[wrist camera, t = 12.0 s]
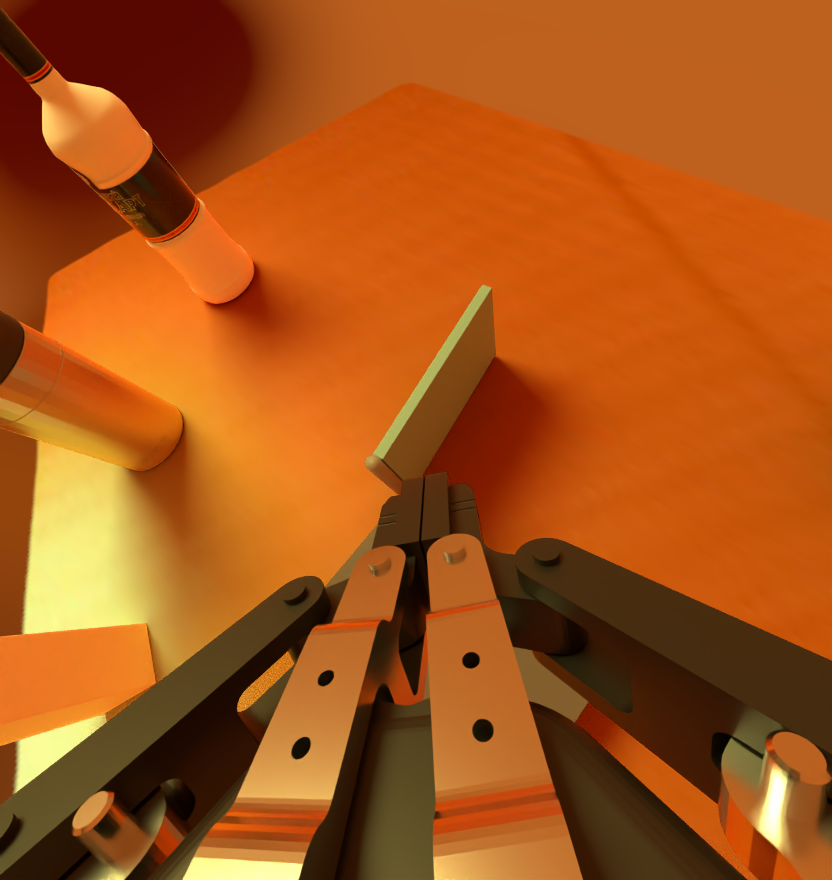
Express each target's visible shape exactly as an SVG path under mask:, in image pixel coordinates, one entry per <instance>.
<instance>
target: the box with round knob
mask: <svg viewBox="0 0 832 880" xmlns="http://www.w3.org/2000/svg"><path fill="white" fill-rule="evenodd" d="M377 526H378V524H377ZM377 526H376V527H375V528H374V529H373V530H372V532H371V533H370V534H369V535H368V536H367V537H366V539H365V540H364V541H363V542H362V543H361V545H360V546H359V547H358V548H357V549H356V551H355V552H354V553H353V554H352V555H351V557H350V558H349V559H348V560H347V561H346V563H345V564H344V565H343V566H342V567H341V569H340V570H339V571H338V572H337V573H336V575H335V576H334V577H333V578H332V579H331V581H330V582H329V583H328V584H327V585H326V587H325V588H327V587H329V586H332V585H334V584H337V583H339V582H342V581H344V580H346V579H348V578H350V576H351V573H352V571H353V568H354V566H355V564H356V562H357V561H358V559H359V558H360V557H361V556H363V555H364V554H365V553H367V552H368V551H370V550H371V549H372V545H373V542H374V538H375V534H376V530H377ZM428 613H430V612H428ZM513 650H514V653H515V657H516V660H517V663H518V667H519V670H520V674H521V677H522V680H523V684H524V687H525V691H526V694H527V697H528V701H531V702H534V703H538V704H541V705H543V706H546V707H548V708H550V709H553V710H555V711H557V712H558V713H560V714H562V715H564V716H565V717H567V718H569V719H570V720H572V721H573V722H574V723H575V721H576V720H577V718H578V717H579V715H580V714H581V712H582V711H583V709H584V708H585V707H586V705H587V704H588V701H587V700H586V699H584V698H583V697H582V696H581V695H579V694H578V693H577V692H576V691H574V690H573V689H572V688H571V687H569V686H568V685H567V684H565V683H564V682H563V681H562V680H560V679H559V678H558V677H557V676H555V675H554V674H553V673H552V672H550V671H549V670H548V669H547V668H545V667H544V666H543V665H542V664H540V663H539V662H538V661H537V659H536V658H535V657H534V655H533V653H532V650H527V649H521V648H516V647H513ZM428 698H430V686H429V667H428V665H427V674H426V683H425V693H424V700H426V699H428Z"/></svg>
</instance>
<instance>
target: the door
mask: <svg viewBox="0 0 832 880" xmlns="http://www.w3.org/2000/svg"><path fill="white" fill-rule="evenodd" d="M495 355H496V350H495V333H494V317H493V301H492V288H490V287H487V286H484V285H482V286H481V287H480V289H479V291H478V292H477V294H476V295H475V297H474V298H473V300H472V301H471V303H470V304H469V306H468V308H467V309H466V311H465V312H464V314H463V315H462V317H461V318H460V320H459V322H458V323H457V325H456V326H455V328H454V329H453V331H452V332H451V334H450V335H449V337H448V339H447V340H446V342H445V343H444V345H443V346H442V348H441V349H440V351H439V353H438V354H437V356H436V357H435V359H434V360H433V362H432V363H431V365H430V366H429V368H428V370H427V371H426V373H425V374H424V376H423V377H422V379H421V380H420V382H419V384H418V385H417V387H416V388H415V390H414V391H413V393H412V394H411V396H410V397H409V399H408V401H407V402H406V404H405V405H404V407H403V408H402V410H401V411H400V413H399V415H398V416H397V418H396V419H395V421H394V422H393V424H392V425H391V427H390V428H389V430H388V432H387V433H386V435H385V436H384V438H383V439H382V441H381V442H380V444H379V445H378V447H377V449H376V450H375V452H374V453H373V454H374V455H370V456H369V457H367V459H366V460H365V466H366V468H367V469H368V470H369V471H371V472H372V473H373V474H374V475H375V476H377V477H378V478H379V479H380V480H381V481H383V482H384V483H385V484H386V485H387V486H388V487H390V488H391V489H392V490H393V491H394V492H396V493H397V494H398V495H400V493H401V488H402V482H403V480H405V479H410V478H415V477H420V476H422V475H423V474H424V472H425V470H426V469H427V467H428V466H429V464H430V462H431V461H432V459H433V457H434V456H435V454H436V452H437V451H438V449H439V447H440V446H441V444H442V442H443V441H444V439H445V438H446V436H447V434H448V433H449V431H450V429H451V428H452V426H453V424H454V423H455V421H456V419H457V418H458V416H459V414H460V413H461V411H462V410H463V408H464V406H465V405H466V403H467V401H468V400H469V398H470V396H471V395H472V393H473V391H474V390H475V388H476V386H477V385H478V383H479V381H480V380H481V378H482V377H483V375H484V373H485V372H486V370H487V368H488V367H489V365H490V363H491V362H492V360H493V358H494V357H495Z"/></svg>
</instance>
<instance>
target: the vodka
mask: <svg viewBox="0 0 832 880" xmlns="http://www.w3.org/2000/svg"><path fill="white" fill-rule="evenodd" d="M0 54H1V55H2V56H3V57H4V58H5V59H6V60H7V61H8V62H9V63H10V64H11V65H12V66H13V67H14V68H15V69H16V70H17V71H18V72H19V73H20V75H21V76H22V77H23V78H24V79H25V80H26V81H27V82H28V83H29V84H30V86H31V87H32V88H33V89H34V90H35V91H36V92H37V94H38V95H39V96H40V97H41V98H42V101H43V105H42V127H43V128H42V129H43V135H44V138H45V140H46V143H47V145H48V146H49V148H50V149H51V150H52V152H53V153H54V155H55V156H56V157H57V158H59V159H60V160H62V161H63V162H65V163H66V164H67V165H68V166H69V167H70V168H71V169H73V171H75V172H76V173H77V174H78V175H79V176H80V177H81V178H82V179H83V180H84V181H85V182H86V183H87V184H88V185H89V186H90V187H91V188H92V189H93V190H94V191H95V192H97V193H98V194H99V195H100V196H101V197H102V198H103V199H104V200H105V201H106V202H107V203H108V204H109V205H110V206H111V207H112V208H113V209H114V210H115V211H116V212H117V213H118V214H119V215H121V216H122V217H123V218H124V219H125V220H126V221H127V222H128V223H129V224H130V225H131V226H132V227H133V228H134V229H135V230H136V231H137V232H138V233H139V234H140V235H141V236H142V237H143V238H144V239H146V242H147V243H148V245H149V246H150V247H152V248H154V249H155V250H157V251H158V252H159V253H160V254H161V255H162V256H163V257H164V258H166V260H167V261H168V262H169V263H170V264H171V265H172V266H173V267H174V268H175V269H176V270H177V271H178V272H179V273H180V274H181V275H182V277H183V278H184V279H185V280H186V281H187V283H188V284H189V286H190V288H191V289H192V290H193V292H194V293H195V294H197V295H198V296H199V298H201V299H202V300H204V301H206V302H209V303H213V304H220V303H225V302H228V301H230V300H232V299H234V298H236V297H238V296H239V295H240V294H241V293H243V292H244V291H245V289H246V288H247V287H248V285H249V284H250V282H251V280H252V278H253V275H254V265H253V261H252V259H251V257H250V256H249V255H248V253H247V252H246V251H245V250H244V249H243V248H242V247H241V246H239V245H238V244H237V243H236V242H235V241H234V240H233V239H232V238H230V237H229V236H228V235H227V234H226V232H225V231H224V230H223V229H222V228H221V226H220V225H219V224H218V223H217V222H216V221H215V219H214V218H213V217H212V215H211V214H210V213H209V211H208V210H207V209H206V206H205V204H204V203H203V202H202V201H201V200H200V199H198V198H197V197H196V196H195V195H194V193H193V192H192V191H191V190H190V188H189V187H188V186H187V185H186V183H185V182H184V181H183V180H182V178H181V177H180V176H179V175H178V174H177V172H176V171H175V170H174V168H173V167H172V166H171V165H170V164H169V162H168V161H167V160H166V159H165V157H164V156H163V155H162V153H161V152H160V151H159V150H158V148H157V147H156V146H155V145H154V143H153V142H152V140H151V138H150V136H149V134H148V133H147V132H146V131H145V130H143V129H142V127H141V126H140V125H139V123H138V122H137V120H136V119H135V117H134V116H133V115H132V113H131V111H130V110H129V109H128V108H127V106H126V105H125V104H124V103H123V102H122V101H121V100H120V99H119V98H117V97H116V96H115V95H114V94H112V93H111V92H109V91H107V90H104V89H102V88H99V87H93V86H88V85H83V84H77V83H71V82H67V81H65V80H64V79H63V77H62V76H61V75H60V74H59V73H58V72H57V71H56V70H55V69H54V68H53V66H52V65H51V64H50V63H49V62H48V61H47V59H46V58H45V57H44V56H43V55H42V54H41V53H40V51H39V50H38V49H37V48H36V47H35V46H34V45H33V43H32V42H31V41H30V40H29V39H28V38H27V37H26V35H25V34H24V33H23V32H22V31H21V30H20V29H19V27H18V26H17V25H16V24H15V23H14V22H13V21H12V20H11V19H10V18H9V16H8V15H7V14H6V13H5V11H3V9H2V8H1V7H0Z"/></svg>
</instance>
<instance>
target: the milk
mask: <svg viewBox="0 0 832 880" xmlns="http://www.w3.org/2000/svg"><path fill="white" fill-rule="evenodd" d="M155 683H156V680H155V674H154V667H153V661H152V655H151V649H150V643H149V637H148V631H147V625H146V623H142V624H132V625H121V626H110V627H99V628H88V629H78V630H67V631H56V632H45V633H35V634H24V635H14V636H3V637H0V746H1V745H4V744H7V743H10V742H14V741H17V740H21V739H24V738H27V737H30V736H34V735H37V734H40V733H43V732H47V731H50V730H53V729H56V728H60V727H63V726H66V725H69V724H73V723H76V722H79V721H83V720H86V719H89V718H92V717H96V716H99V715H102V714H105V713H106V712H108V711H110V710H112V709H113V708H115V707H117V706H118V705H120V704H122V703H123V702H125V701H127V700H129V699H130V698H132V697H134V696H135V695H137V694H139V693H140V692H142V691H144V690H146V689H147V688H149V687H151V686H152V685H154V684H155Z"/></svg>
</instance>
